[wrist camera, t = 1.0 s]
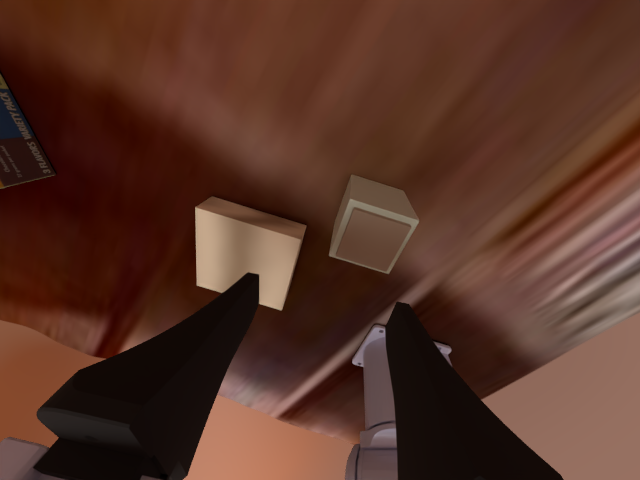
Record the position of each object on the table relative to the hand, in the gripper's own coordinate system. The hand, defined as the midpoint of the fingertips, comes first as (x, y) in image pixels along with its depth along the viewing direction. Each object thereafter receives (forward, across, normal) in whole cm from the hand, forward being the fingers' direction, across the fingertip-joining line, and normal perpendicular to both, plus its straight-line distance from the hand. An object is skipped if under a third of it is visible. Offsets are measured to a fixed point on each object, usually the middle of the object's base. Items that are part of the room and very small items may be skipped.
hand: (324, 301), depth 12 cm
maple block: (+10, +8, +5) cm, 14 cm away
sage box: (+10, -2, -2) cm, 10 cm away
